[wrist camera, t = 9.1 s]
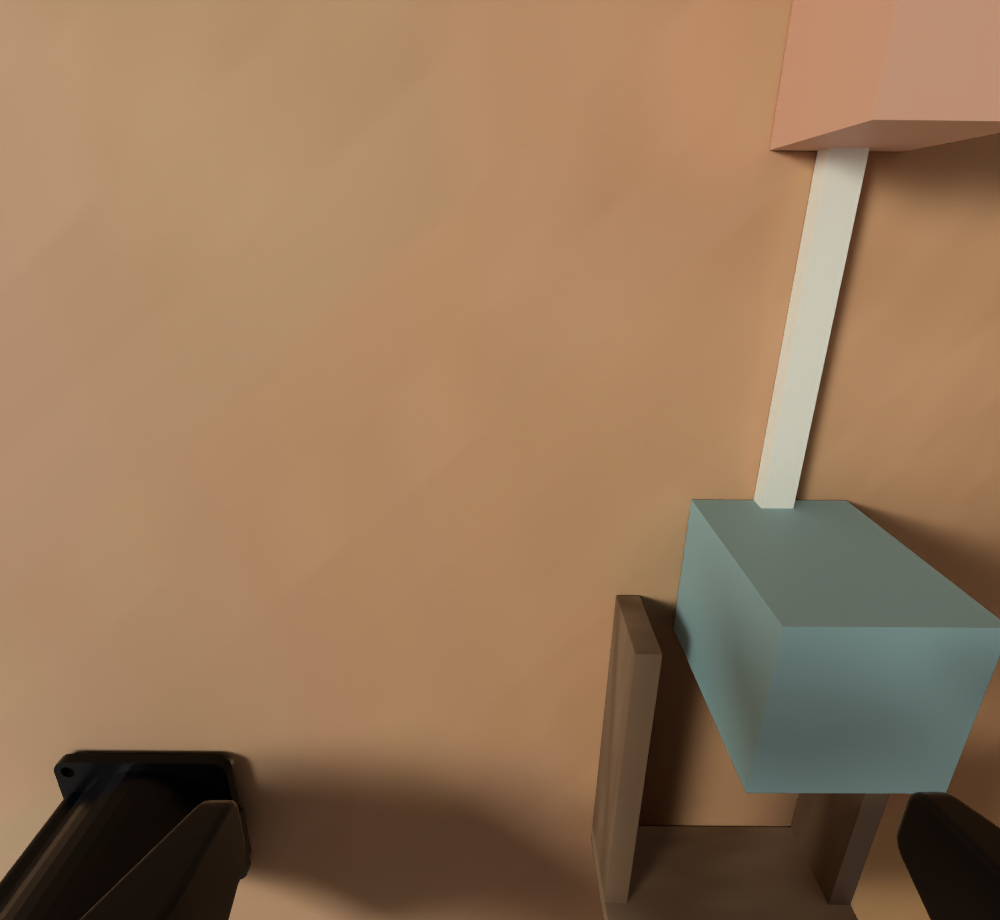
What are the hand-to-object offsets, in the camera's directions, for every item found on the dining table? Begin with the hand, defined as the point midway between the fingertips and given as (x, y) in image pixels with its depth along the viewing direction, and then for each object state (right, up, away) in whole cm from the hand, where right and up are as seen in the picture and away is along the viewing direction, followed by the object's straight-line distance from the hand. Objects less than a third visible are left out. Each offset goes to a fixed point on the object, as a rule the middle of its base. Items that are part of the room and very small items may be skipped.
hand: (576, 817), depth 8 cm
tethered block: (+8, +7, +9) cm, 14 cm away
